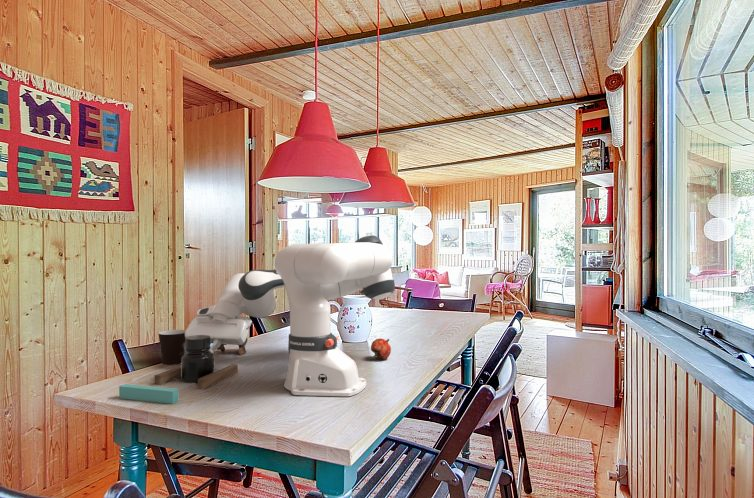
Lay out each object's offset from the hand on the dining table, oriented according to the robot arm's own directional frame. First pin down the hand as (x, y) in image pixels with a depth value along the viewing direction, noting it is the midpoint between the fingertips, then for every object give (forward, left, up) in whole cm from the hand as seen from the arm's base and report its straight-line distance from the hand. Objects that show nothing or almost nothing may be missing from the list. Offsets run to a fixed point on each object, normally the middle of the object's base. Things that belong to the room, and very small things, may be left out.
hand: (206, 354), depth 136 cm
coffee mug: (+19, -10, -6) cm, 22 cm away
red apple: (-46, -31, -6) cm, 56 cm away
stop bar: (-1, +24, -6) cm, 25 cm away
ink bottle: (-1, +5, -6) cm, 8 cm away
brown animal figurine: (+7, -26, -6) cm, 28 cm away
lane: (-1, +5, -6) cm, 8 cm away
